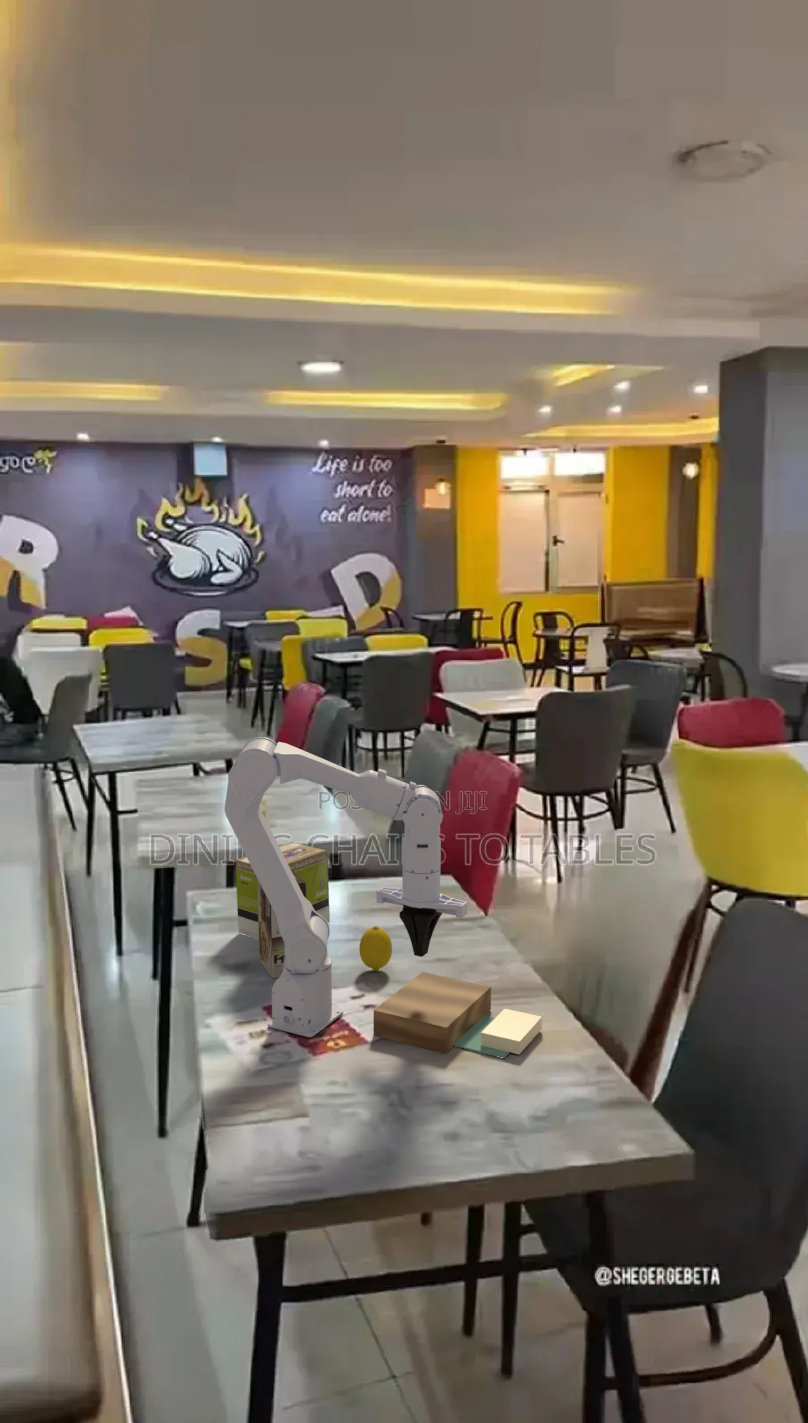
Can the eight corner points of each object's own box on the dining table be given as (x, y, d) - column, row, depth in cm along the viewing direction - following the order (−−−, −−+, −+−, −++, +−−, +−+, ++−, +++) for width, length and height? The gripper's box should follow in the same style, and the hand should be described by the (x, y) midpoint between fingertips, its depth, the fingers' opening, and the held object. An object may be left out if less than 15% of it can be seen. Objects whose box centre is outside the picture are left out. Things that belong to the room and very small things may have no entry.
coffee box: (308, 973, 183) (307, 882, 180) (271, 979, 180) (269, 886, 178) (293, 954, 191) (292, 866, 188) (258, 959, 189) (256, 870, 186)
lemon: (378, 980, 180) (378, 934, 179) (353, 971, 183) (352, 927, 182) (398, 969, 184) (398, 925, 183) (373, 961, 188) (373, 918, 186)
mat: (504, 1058, 153) (504, 1056, 153) (453, 1046, 157) (453, 1044, 157) (532, 1028, 163) (532, 1026, 163) (484, 1016, 167) (484, 1014, 167)
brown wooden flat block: (446, 1053, 155) (446, 1027, 154) (373, 1035, 160) (373, 1009, 160) (490, 1010, 169) (491, 986, 168) (422, 995, 174) (422, 971, 174)
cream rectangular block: (480, 1032, 156) (480, 1045, 157) (519, 1041, 154) (519, 1054, 154) (504, 1008, 164) (504, 1020, 165) (541, 1016, 161) (541, 1029, 162)
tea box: (293, 912, 212) (292, 839, 210) (330, 924, 206) (330, 849, 204) (236, 934, 201) (234, 857, 198) (273, 947, 195) (272, 868, 192)
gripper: (476, 868, 162) (475, 953, 165) (391, 854, 169) (391, 936, 171) (456, 881, 156) (455, 969, 158) (369, 866, 163) (369, 951, 165)
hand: (420, 953), depth 164 cm, fingers closed
